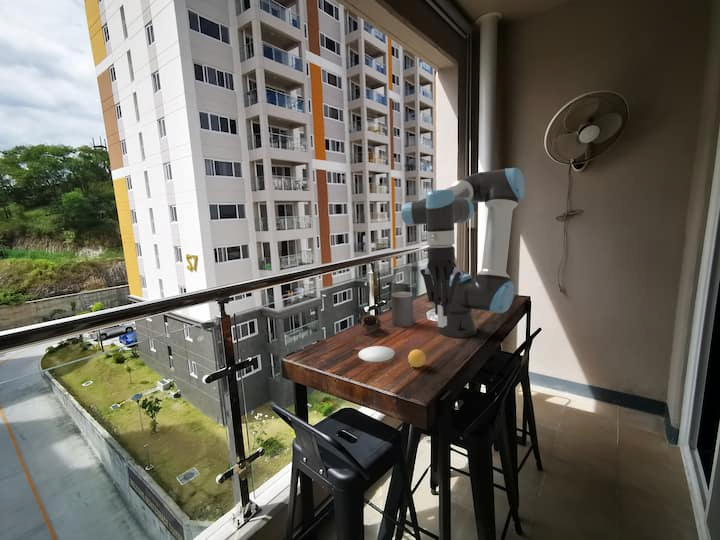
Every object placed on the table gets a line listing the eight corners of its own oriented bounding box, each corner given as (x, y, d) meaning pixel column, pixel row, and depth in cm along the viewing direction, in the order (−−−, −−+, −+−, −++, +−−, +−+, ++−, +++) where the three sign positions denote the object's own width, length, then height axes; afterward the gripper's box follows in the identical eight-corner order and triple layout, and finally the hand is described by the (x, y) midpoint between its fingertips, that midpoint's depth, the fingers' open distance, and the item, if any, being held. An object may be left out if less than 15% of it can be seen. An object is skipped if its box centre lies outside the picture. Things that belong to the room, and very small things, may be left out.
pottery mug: (386, 329, 142) (385, 316, 137) (374, 345, 137) (373, 332, 132) (363, 319, 148) (361, 307, 143) (351, 334, 143) (349, 321, 138)
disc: (374, 344, 126) (374, 343, 126) (402, 351, 117) (402, 351, 117) (350, 355, 116) (350, 355, 116) (379, 365, 108) (379, 364, 107)
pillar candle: (387, 324, 148) (386, 292, 145) (401, 318, 154) (400, 287, 151) (404, 329, 140) (402, 295, 138) (418, 323, 147) (417, 290, 144)
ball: (414, 361, 109) (414, 345, 108) (429, 365, 105) (428, 349, 104) (405, 367, 105) (404, 351, 104) (419, 371, 101) (419, 355, 100)
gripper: (413, 247, 94) (416, 325, 98) (456, 247, 85) (457, 333, 89) (427, 244, 100) (429, 318, 103) (468, 244, 91) (469, 326, 94)
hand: (442, 325), depth 96 cm, fingers closed
